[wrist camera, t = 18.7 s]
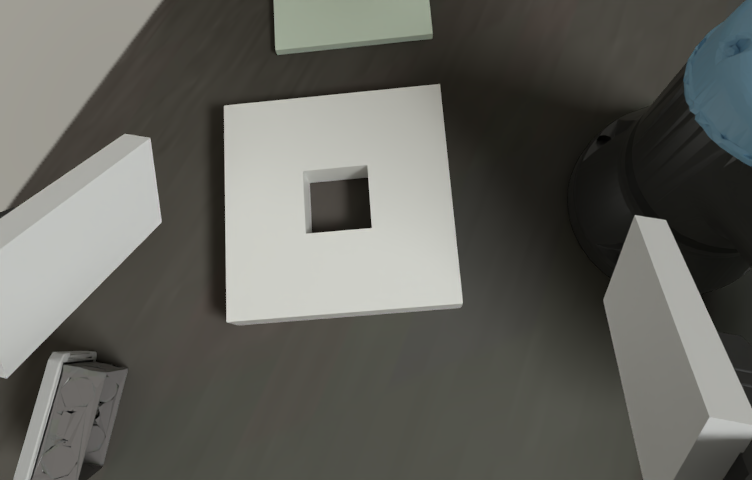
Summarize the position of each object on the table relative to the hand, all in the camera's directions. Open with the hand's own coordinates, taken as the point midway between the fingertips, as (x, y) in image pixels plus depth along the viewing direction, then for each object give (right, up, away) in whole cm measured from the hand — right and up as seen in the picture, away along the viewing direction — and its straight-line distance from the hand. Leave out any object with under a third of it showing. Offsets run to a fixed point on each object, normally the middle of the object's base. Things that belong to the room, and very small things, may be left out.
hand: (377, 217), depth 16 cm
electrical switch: (-22, -14, +31) cm, 41 cm away
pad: (-2, +23, +38) cm, 45 cm away
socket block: (-3, +2, +33) cm, 33 cm away
